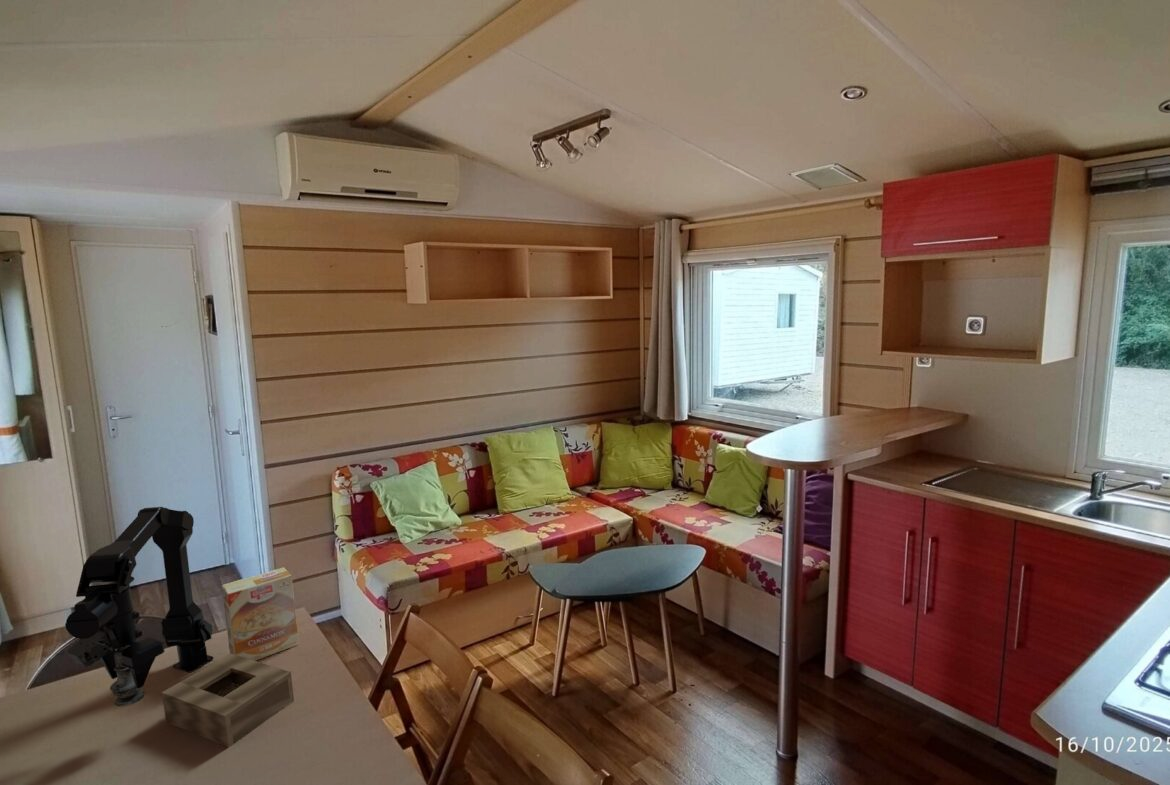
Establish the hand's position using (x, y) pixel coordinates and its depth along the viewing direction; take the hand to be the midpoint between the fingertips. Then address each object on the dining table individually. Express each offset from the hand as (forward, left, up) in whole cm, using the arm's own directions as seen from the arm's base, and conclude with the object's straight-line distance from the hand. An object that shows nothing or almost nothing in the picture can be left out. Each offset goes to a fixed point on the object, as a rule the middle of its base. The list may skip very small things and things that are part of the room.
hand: (127, 682), depth 132 cm
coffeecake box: (-2, +33, -12) cm, 35 cm away
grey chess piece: (0, 0, -4) cm, 4 cm away
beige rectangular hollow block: (+12, +13, -12) cm, 21 cm away
